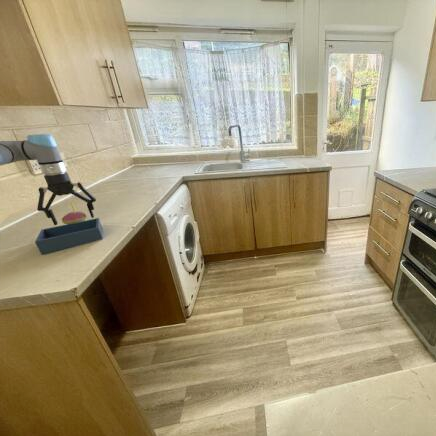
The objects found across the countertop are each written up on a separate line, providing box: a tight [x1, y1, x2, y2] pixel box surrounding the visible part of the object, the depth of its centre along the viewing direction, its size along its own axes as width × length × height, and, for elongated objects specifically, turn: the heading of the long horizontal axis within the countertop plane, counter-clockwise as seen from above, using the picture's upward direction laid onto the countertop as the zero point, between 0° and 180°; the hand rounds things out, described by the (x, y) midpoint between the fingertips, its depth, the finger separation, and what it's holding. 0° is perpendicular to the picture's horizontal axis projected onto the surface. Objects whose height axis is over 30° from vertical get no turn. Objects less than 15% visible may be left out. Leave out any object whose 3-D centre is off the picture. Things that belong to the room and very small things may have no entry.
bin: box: [34, 217, 104, 255], centre depth 98 cm, size 19×13×6 cm
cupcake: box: [61, 201, 88, 225], centre depth 109 cm, size 9×8×12 cm
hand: (75, 220), depth 110 cm, fingers open, 12 cm apart
